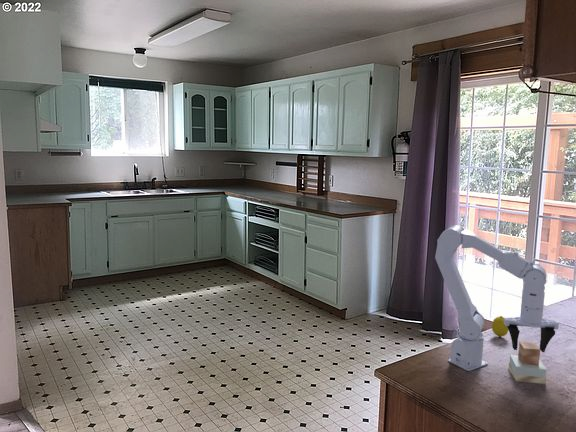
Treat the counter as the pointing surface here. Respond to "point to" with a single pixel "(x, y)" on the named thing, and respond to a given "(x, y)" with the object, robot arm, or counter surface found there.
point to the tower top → (527, 368)
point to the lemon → (499, 327)
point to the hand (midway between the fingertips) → (528, 349)
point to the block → (529, 353)
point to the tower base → (526, 377)
